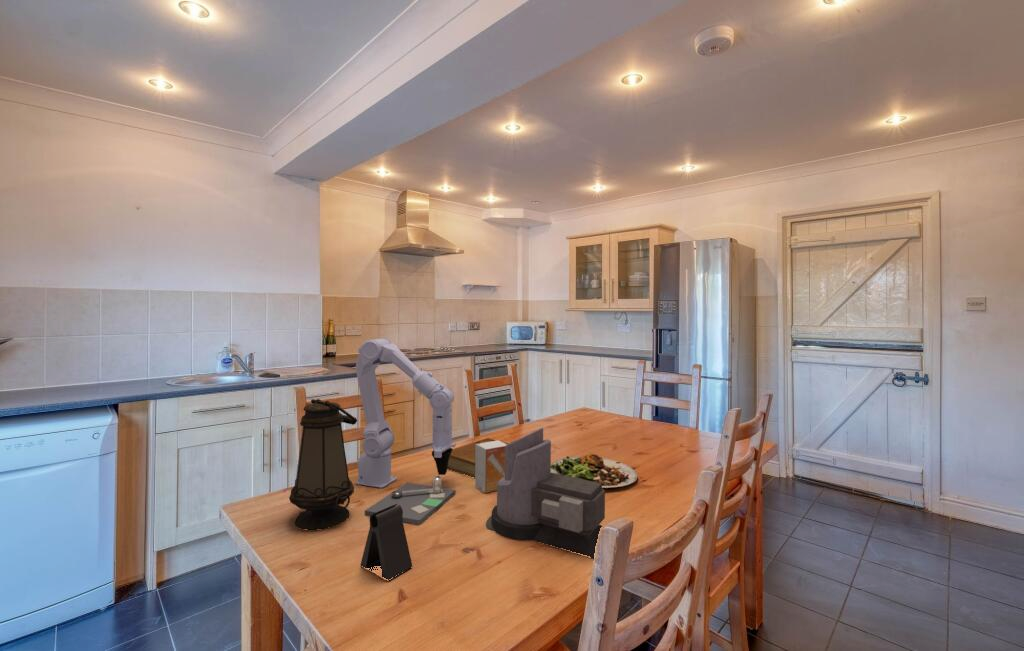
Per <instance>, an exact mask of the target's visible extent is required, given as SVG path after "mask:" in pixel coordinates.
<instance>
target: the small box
mask: <svg viewBox="0 0 1024 651" xmlns="http://www.w3.org/2000/svg"><path fill="white" fill-rule="evenodd" d="M496 440H497V439H496ZM503 442H504V441H501V440H497V441H492V442H485V443H480V444H476V457H475V478H474V479H475V480H474V485H475V488H476V489H478V490H480V491H481V492H482V493H484V494H487V493H491V492H494V491H496V492H497V483H498V481H499V480H500V479H501V478H503V477H505V446H506V445H507V444H505V443H506V442H505V443H503Z"/></svg>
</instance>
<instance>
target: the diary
mask: <svg viewBox="0 0 1024 651" xmlns="http://www.w3.org/2000/svg"><path fill="white" fill-rule="evenodd" d="M492 441H497V439H492V438H489V437H488V438H484V439H482V440H478V441H475V442H474V441H473V442H471V443H469V444H465V445H462V446H459V447H456V448H455V447H454V448H452V449H453V450H452V452H451V454H450V457H449V461H448V467H447V469H449V470H448V471H450V470H452V471H451V472H453V471H455V472H454V473H456V472H459V473H462V474H465V475H468V476H471V477H474V478H473V479H475V457H476V444H480V443H485V442H492ZM502 442H503V443H505V444H509V442H505V441H502ZM459 473H458V474H459ZM462 474H461V475H462ZM465 475H464V476H465ZM468 476H467V477H468ZM471 477H470V478H471Z"/></svg>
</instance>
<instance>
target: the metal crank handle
mask: <svg viewBox="0 0 1024 651" xmlns="http://www.w3.org/2000/svg"><path fill="white" fill-rule="evenodd" d="M432 486H433V488H431V489H421V490H411V491H400V490H397V489H395V490H396V491H395V490H393V491H392V492H391V493H392V497H393V498H399V497H401V496H404V495H414V494H423V493H440V492H443V488H444V487H443V486H442V476H440V475H437V476H435V475H434V476H433V477H432Z"/></svg>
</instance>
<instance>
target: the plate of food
mask: <svg viewBox="0 0 1024 651" xmlns="http://www.w3.org/2000/svg"><path fill="white" fill-rule="evenodd" d="M551 473H555V474H560V475H565V476H569V477H574V478H579V479H584V480H588V481H593V482H598V483H602V489H604V488H605V489H608V488H609V489H610V488H618V487H620V488H621V487H625V486H629V485H630V484H632V483H635V482H636V481H637V479H638V476H639V475H638V473H637V472H636V471H635V470H634V469H633V467H631V466H629V465H628V464H626V463H624V462H621V461H618V460H614V459H611V458H606V457H602V456H600V455H598V454H596V453H588V454H586V455H582V456H577V455H576V456H569V455H567V456H566V457H564V458H560V459H557V460H555V461H553V462H551Z"/></svg>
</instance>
